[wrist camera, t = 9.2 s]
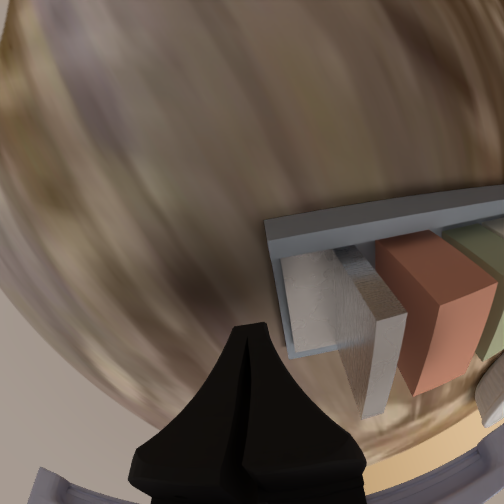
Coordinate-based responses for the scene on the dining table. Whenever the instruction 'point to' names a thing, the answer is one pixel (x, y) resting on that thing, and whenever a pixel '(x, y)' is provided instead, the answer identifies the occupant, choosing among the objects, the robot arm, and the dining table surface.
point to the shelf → (372, 230)
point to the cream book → (495, 226)
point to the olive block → (496, 265)
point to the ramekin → (491, 394)
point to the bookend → (347, 318)
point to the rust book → (435, 305)
